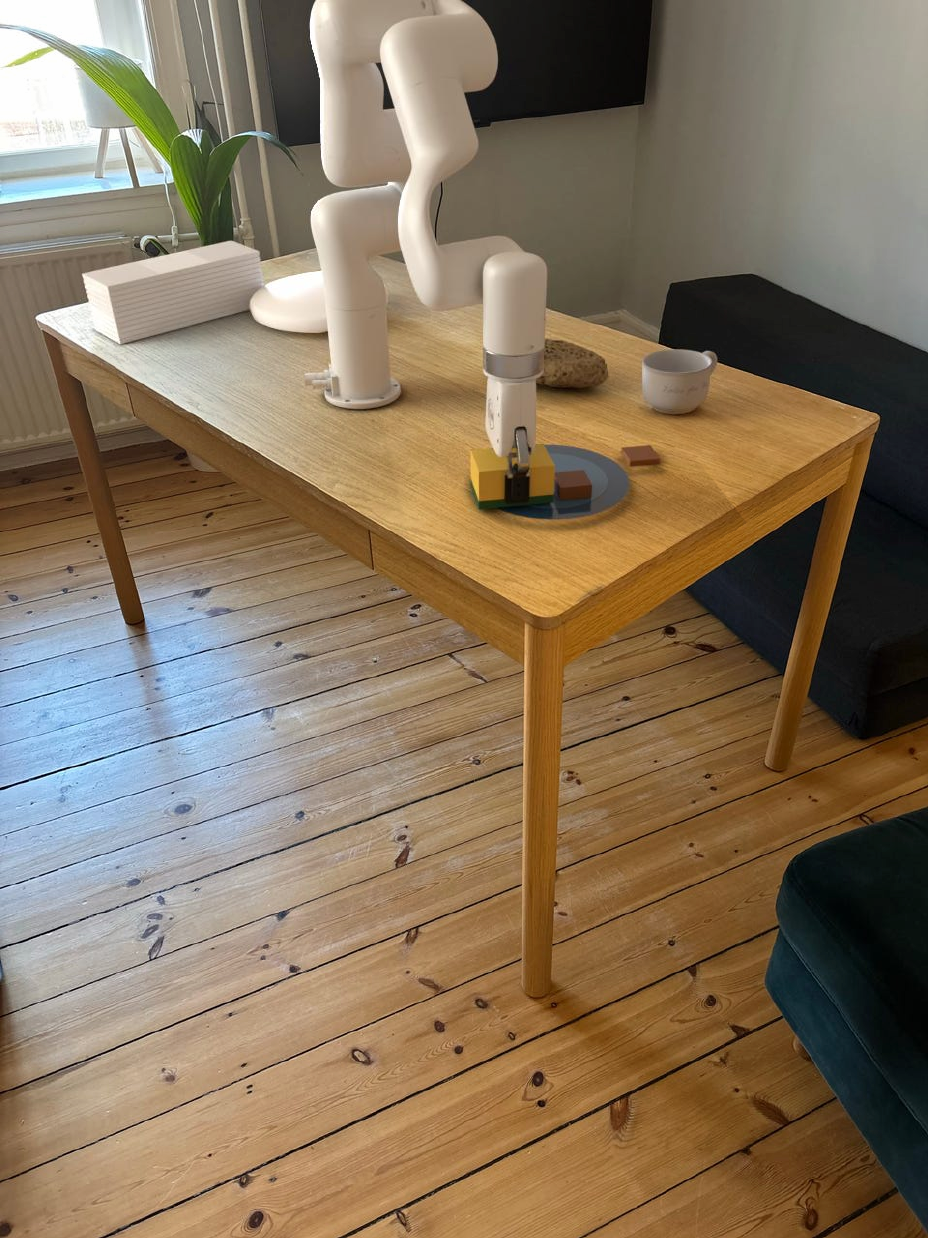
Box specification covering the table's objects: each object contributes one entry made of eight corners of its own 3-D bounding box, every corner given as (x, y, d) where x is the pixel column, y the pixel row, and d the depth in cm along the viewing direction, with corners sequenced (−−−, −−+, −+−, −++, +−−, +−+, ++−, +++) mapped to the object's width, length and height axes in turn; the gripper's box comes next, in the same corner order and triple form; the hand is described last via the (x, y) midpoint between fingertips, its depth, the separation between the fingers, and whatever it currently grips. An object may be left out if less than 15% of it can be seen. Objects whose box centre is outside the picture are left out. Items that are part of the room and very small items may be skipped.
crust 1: (559, 500, 131) (560, 487, 130) (551, 485, 135) (552, 472, 133) (591, 498, 132) (592, 484, 130) (582, 482, 135) (583, 469, 134)
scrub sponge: (478, 509, 129) (478, 471, 125) (470, 486, 134) (470, 449, 130) (553, 502, 130) (555, 465, 127) (542, 479, 135) (543, 443, 132)
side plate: (486, 535, 127) (486, 526, 126) (459, 458, 144) (458, 450, 143) (650, 519, 129) (651, 510, 129) (604, 446, 147) (605, 438, 146)
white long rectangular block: (238, 293, 207) (231, 240, 201) (266, 305, 201) (259, 250, 194) (95, 329, 190) (81, 273, 184) (120, 344, 184) (107, 286, 177)
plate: (319, 324, 177) (217, 298, 190) (325, 358, 181) (225, 330, 194) (414, 269, 193) (315, 248, 206) (418, 301, 198) (320, 279, 211)
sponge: (485, 378, 171) (553, 393, 155) (487, 332, 169) (557, 342, 153) (546, 376, 178) (618, 390, 162) (549, 331, 175) (622, 341, 159)
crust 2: (629, 473, 140) (630, 461, 138) (620, 459, 143) (621, 447, 142) (658, 471, 140) (660, 458, 139) (649, 457, 144) (650, 444, 143)
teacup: (661, 425, 152) (667, 376, 148) (625, 400, 160) (629, 352, 156) (736, 410, 157) (743, 361, 152) (696, 385, 165) (703, 339, 160)
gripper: (471, 337, 127) (472, 462, 138) (496, 389, 113) (495, 524, 124) (528, 333, 128) (525, 457, 139) (560, 384, 114) (553, 518, 125)
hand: (511, 487), depth 131 cm, fingers closed on scrub sponge, 6 cm apart
